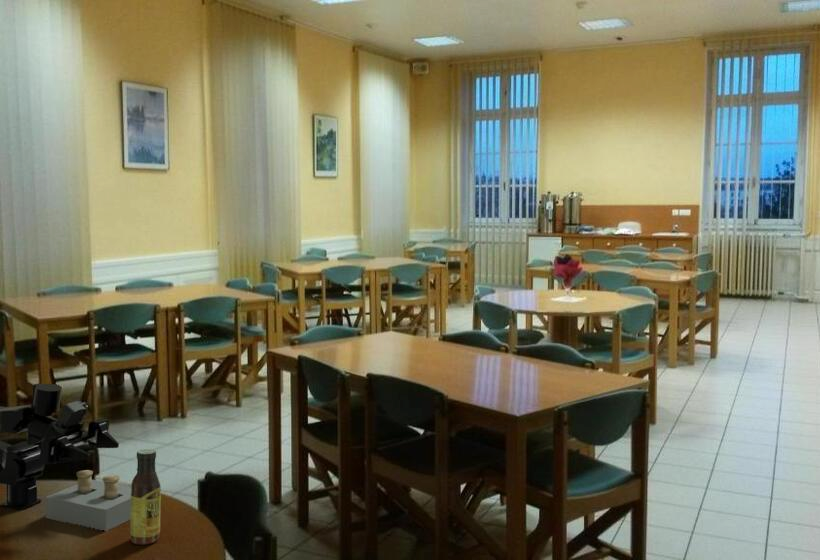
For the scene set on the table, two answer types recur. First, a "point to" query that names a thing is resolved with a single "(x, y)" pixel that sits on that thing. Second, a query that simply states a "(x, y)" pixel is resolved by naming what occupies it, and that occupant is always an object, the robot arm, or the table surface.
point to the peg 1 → (84, 482)
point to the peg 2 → (111, 487)
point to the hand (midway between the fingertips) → (104, 451)
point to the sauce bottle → (145, 500)
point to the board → (90, 507)
